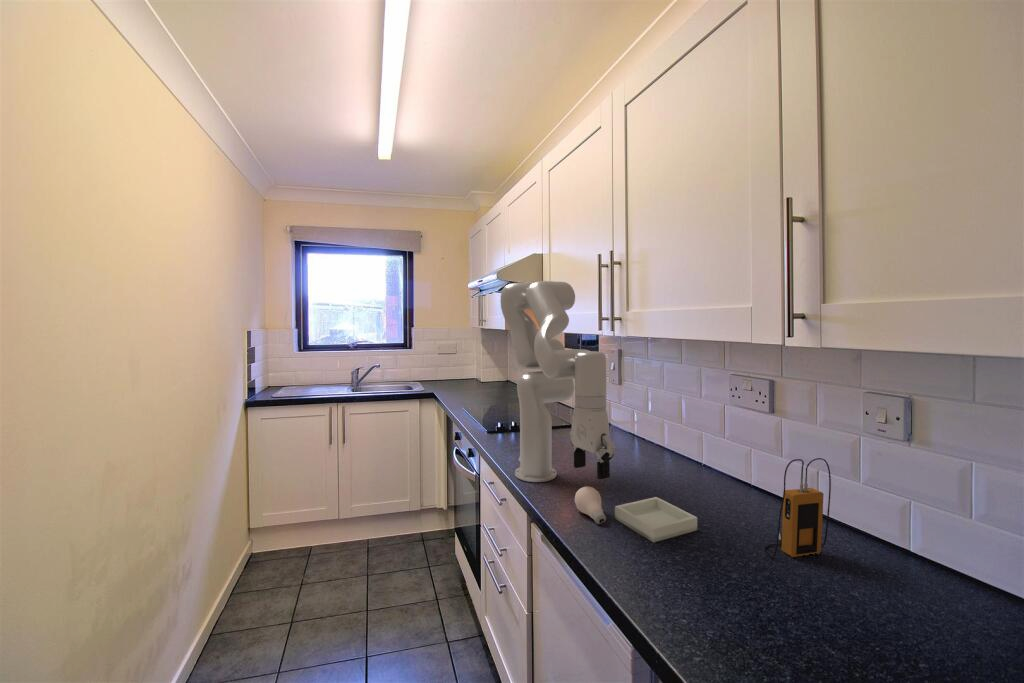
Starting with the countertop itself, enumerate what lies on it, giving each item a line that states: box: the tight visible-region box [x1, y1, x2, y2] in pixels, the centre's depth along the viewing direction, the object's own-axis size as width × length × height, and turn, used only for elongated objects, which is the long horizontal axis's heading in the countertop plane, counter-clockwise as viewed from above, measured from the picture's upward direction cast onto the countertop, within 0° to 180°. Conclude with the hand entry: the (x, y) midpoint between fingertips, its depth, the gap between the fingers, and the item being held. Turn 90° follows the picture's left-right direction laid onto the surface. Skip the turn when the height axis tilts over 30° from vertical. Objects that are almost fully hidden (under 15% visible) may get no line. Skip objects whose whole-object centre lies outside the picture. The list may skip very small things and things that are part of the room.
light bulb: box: [574, 486, 607, 525], centre depth 111 cm, size 7×7×11 cm
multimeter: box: [764, 457, 832, 559], centre depth 97 cm, size 15×10×20 cm
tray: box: [614, 496, 698, 543], centre depth 107 cm, size 13×13×3 cm
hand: (591, 472), depth 112 cm, fingers open, 9 cm apart
